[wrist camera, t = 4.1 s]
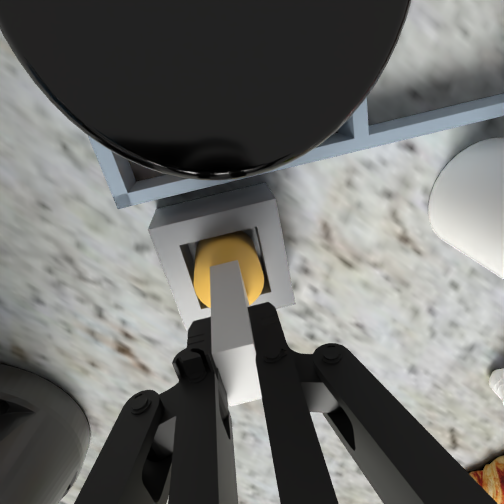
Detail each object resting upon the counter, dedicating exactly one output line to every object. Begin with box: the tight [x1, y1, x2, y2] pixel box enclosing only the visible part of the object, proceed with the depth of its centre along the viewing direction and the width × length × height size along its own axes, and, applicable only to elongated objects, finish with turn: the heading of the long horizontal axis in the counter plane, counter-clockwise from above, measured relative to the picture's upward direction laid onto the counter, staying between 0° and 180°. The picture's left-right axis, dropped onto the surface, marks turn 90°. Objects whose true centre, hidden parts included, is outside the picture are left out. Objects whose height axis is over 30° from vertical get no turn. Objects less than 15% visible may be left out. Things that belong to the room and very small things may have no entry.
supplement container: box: [0, 0, 411, 180], centre depth 13 cm, size 10×10×12 cm
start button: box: [194, 230, 264, 308], centre depth 20 cm, size 4×4×3 cm
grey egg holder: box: [148, 183, 295, 331], centre depth 21 cm, size 7×7×4 cm
